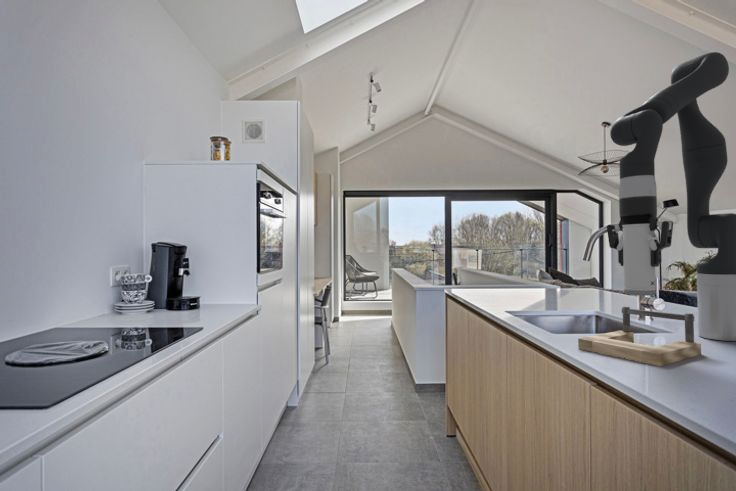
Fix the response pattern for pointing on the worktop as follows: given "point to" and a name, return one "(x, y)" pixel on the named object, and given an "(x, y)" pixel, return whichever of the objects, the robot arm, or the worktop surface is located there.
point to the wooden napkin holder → (662, 355)
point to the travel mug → (637, 256)
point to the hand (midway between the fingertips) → (639, 266)
